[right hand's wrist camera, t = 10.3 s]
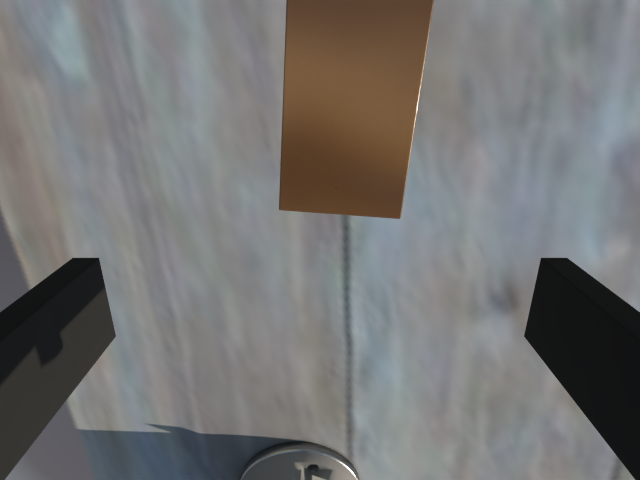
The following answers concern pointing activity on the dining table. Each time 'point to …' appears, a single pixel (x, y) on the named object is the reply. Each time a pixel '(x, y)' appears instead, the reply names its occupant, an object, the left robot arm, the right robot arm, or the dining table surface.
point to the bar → (350, 103)
